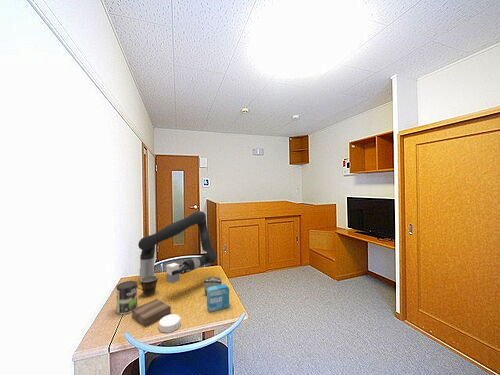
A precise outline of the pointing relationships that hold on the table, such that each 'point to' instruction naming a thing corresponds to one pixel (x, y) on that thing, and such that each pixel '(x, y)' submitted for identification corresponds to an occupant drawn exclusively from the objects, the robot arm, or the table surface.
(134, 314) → the walnut stand
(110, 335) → the table surface
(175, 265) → the block
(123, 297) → the coffee can
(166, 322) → the coaster
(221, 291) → the data package
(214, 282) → the food container
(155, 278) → the ceramic cup
